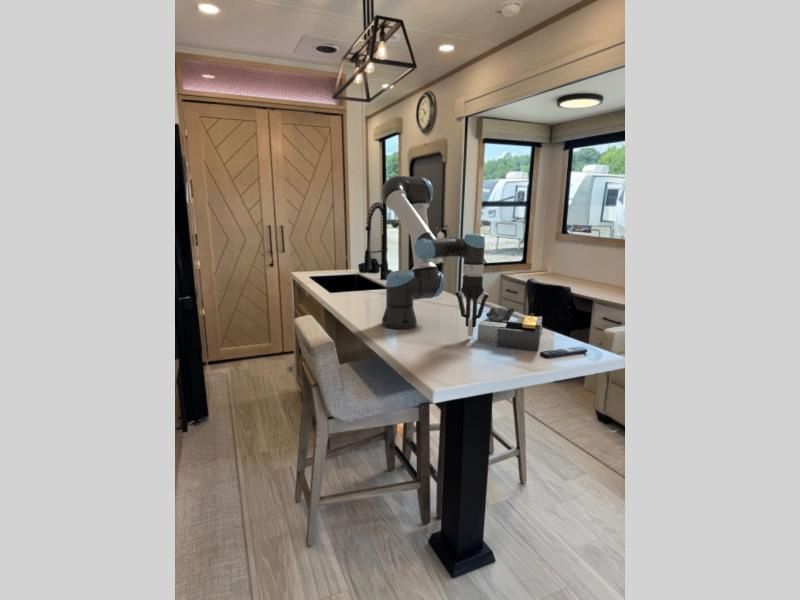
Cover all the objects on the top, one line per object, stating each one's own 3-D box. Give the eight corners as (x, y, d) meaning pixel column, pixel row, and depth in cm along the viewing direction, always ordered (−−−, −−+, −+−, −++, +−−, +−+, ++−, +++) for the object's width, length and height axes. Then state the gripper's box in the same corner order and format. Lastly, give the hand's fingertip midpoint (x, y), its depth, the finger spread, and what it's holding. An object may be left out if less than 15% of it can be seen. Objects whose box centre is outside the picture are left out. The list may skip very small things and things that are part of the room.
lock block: (477, 342, 168) (478, 324, 167) (479, 337, 174) (480, 320, 172) (503, 345, 165) (505, 327, 164) (505, 340, 171) (506, 323, 169)
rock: (498, 324, 191) (509, 304, 191) (477, 314, 200) (488, 294, 200) (512, 333, 199) (523, 314, 199) (492, 323, 209) (502, 305, 209)
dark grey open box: (496, 346, 162) (498, 320, 160) (501, 337, 174) (503, 312, 172) (537, 351, 157) (540, 325, 155) (540, 341, 169) (542, 316, 167)
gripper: (453, 275, 166) (451, 335, 170) (488, 277, 161) (485, 339, 166) (458, 272, 173) (456, 330, 177) (491, 274, 168) (488, 334, 173)
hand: (470, 334), depth 172 cm, fingers closed
